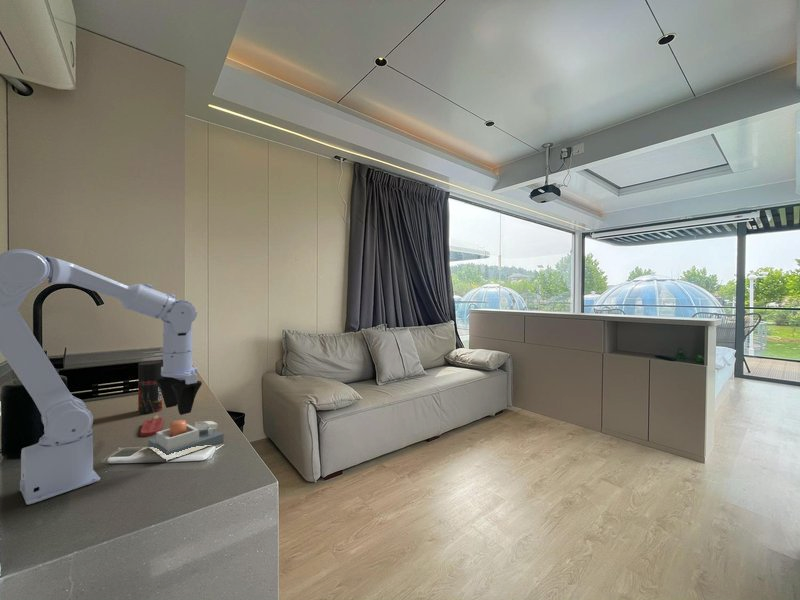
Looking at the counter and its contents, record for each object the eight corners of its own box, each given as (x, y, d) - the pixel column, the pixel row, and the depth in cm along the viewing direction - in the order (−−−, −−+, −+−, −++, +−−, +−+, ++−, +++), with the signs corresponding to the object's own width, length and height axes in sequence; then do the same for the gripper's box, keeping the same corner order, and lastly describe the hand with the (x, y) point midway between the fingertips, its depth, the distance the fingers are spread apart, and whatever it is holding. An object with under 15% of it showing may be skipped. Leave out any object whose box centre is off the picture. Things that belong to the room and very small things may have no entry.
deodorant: (159, 412, 101) (158, 363, 101) (135, 415, 99) (135, 365, 98) (164, 406, 106) (164, 360, 106) (142, 408, 104) (142, 361, 104)
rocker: (200, 430, 79) (201, 424, 79) (193, 426, 81) (195, 421, 81) (217, 429, 82) (218, 423, 82) (210, 425, 84) (211, 420, 85)
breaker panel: (166, 461, 71) (166, 441, 71) (148, 447, 78) (148, 428, 77) (223, 442, 81) (223, 423, 81) (202, 431, 87) (202, 414, 87)
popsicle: (165, 411, 98) (160, 429, 85) (166, 417, 98) (160, 436, 85) (146, 414, 96) (138, 433, 83) (147, 420, 96) (138, 440, 83)
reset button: (172, 439, 74) (172, 426, 74) (167, 435, 76) (167, 423, 76) (188, 434, 77) (188, 421, 77) (182, 431, 79) (182, 418, 79)
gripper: (211, 352, 75) (211, 411, 75) (183, 346, 84) (183, 399, 84) (176, 356, 70) (176, 420, 70) (150, 350, 78) (150, 407, 78)
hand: (178, 409), depth 76 cm, fingers open, 7 cm apart
